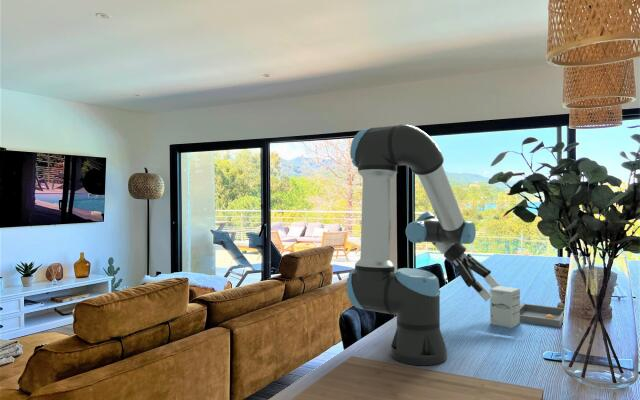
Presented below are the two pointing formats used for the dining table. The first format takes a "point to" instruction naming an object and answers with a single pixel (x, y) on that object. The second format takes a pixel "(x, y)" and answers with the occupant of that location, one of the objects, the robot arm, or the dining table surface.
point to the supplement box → (505, 306)
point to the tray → (541, 315)
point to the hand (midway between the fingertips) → (495, 294)
